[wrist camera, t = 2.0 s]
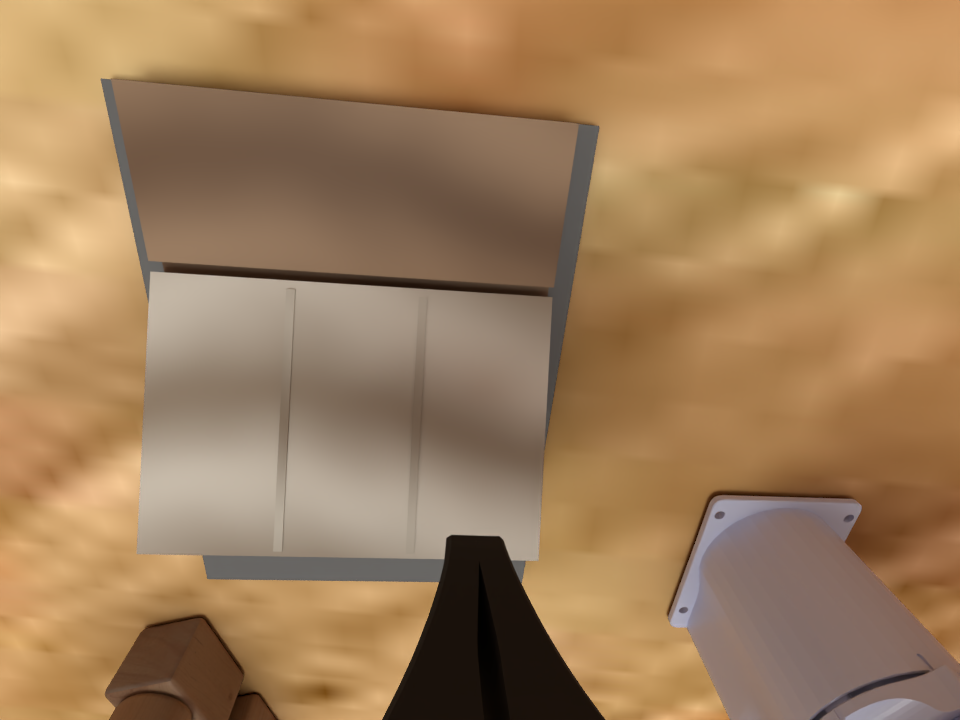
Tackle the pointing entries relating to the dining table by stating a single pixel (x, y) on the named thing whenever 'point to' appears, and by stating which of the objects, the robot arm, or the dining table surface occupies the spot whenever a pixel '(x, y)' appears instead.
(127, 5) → the dining table surface
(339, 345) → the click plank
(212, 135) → the laid plank
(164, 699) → the brown wooden upright frame
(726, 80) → the dining table surface
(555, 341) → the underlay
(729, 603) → the robot arm
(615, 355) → the dining table surface
